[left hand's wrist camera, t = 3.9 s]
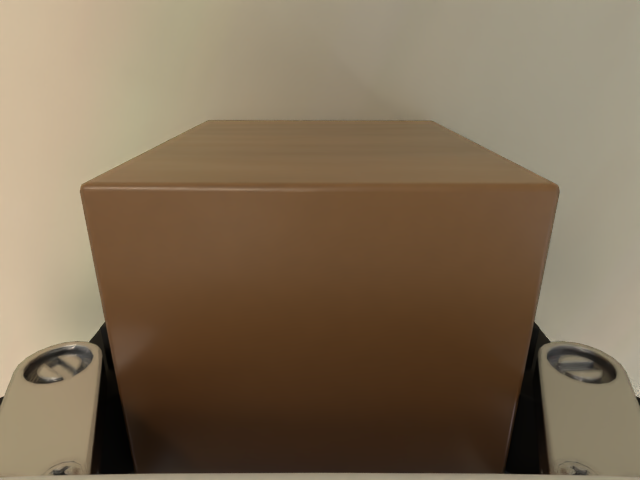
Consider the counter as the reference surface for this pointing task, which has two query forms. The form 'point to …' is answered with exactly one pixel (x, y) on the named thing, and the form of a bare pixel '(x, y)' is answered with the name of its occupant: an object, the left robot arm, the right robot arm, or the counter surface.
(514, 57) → the counter surface
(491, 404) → the post
